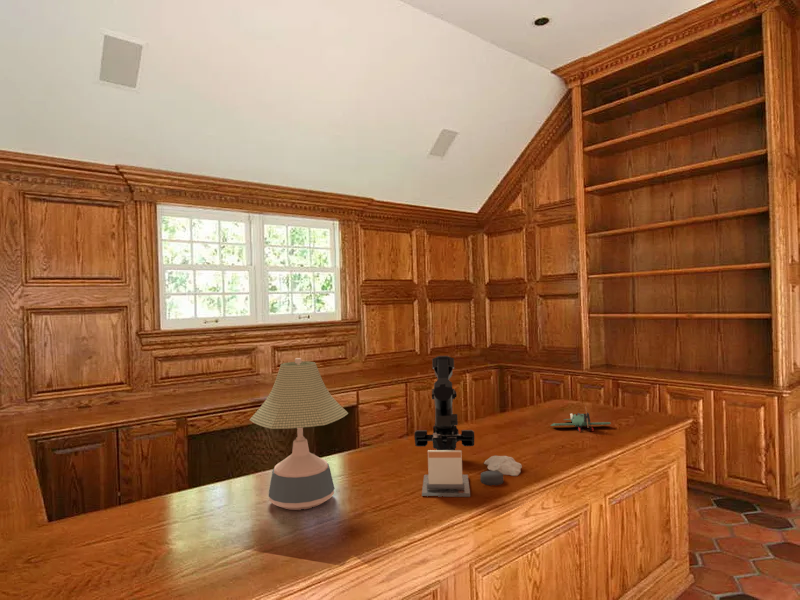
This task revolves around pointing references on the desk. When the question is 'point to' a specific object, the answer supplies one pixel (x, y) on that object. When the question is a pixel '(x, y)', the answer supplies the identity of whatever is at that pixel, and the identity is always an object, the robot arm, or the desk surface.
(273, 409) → the desk lamp
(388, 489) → the desk surface
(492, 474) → the grey river pebble
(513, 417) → the desk surface
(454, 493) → the grey flat slab
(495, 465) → the decorative stone
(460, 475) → the bowl
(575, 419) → the toy airplane
